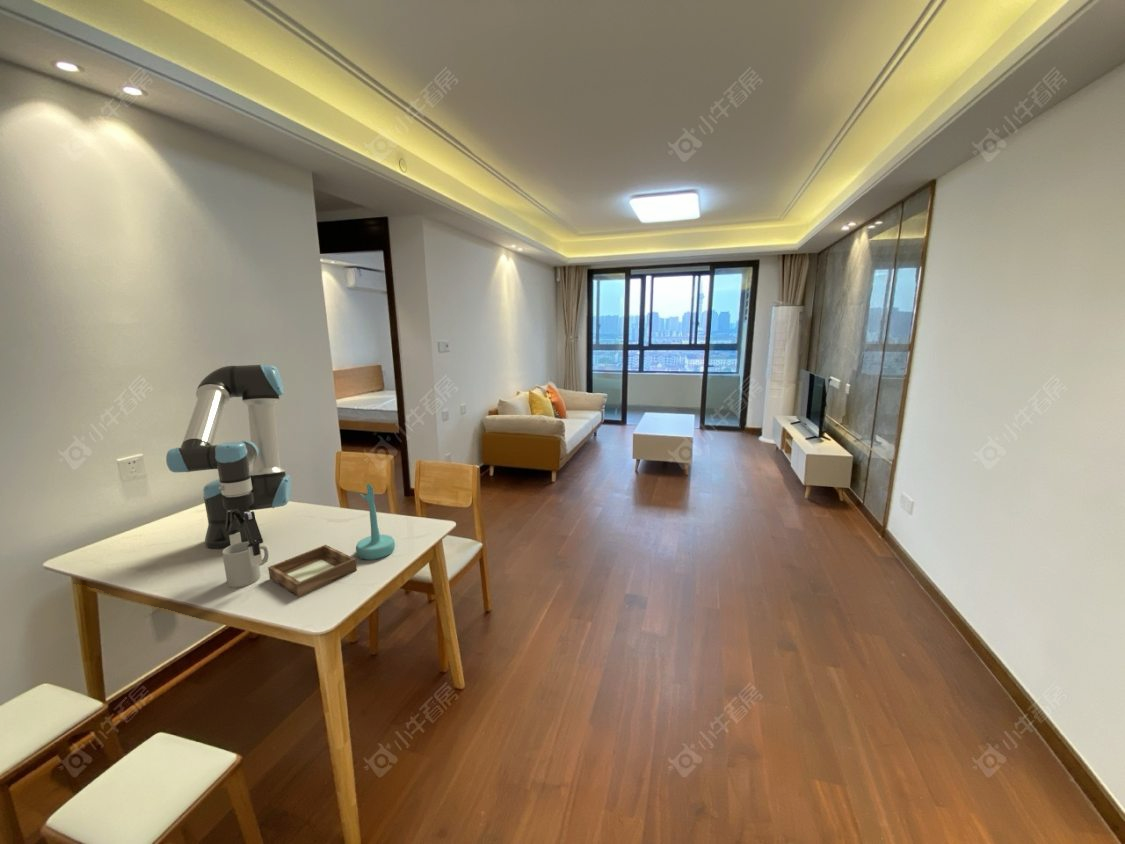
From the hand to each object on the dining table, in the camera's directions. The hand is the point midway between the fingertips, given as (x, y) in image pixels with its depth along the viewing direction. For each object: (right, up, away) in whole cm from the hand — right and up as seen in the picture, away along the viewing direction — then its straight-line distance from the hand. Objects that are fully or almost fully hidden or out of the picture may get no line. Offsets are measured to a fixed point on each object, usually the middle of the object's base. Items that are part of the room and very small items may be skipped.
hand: (247, 558), depth 138 cm
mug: (0, -7, +2) cm, 7 cm away
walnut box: (+19, -6, +3) cm, 20 cm away
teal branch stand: (+33, -3, +18) cm, 37 cm away
